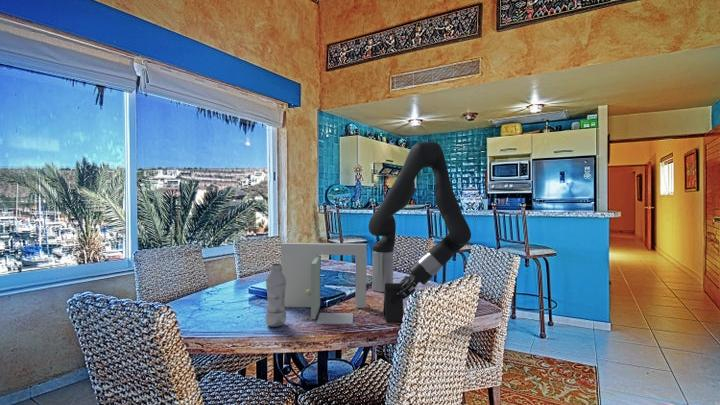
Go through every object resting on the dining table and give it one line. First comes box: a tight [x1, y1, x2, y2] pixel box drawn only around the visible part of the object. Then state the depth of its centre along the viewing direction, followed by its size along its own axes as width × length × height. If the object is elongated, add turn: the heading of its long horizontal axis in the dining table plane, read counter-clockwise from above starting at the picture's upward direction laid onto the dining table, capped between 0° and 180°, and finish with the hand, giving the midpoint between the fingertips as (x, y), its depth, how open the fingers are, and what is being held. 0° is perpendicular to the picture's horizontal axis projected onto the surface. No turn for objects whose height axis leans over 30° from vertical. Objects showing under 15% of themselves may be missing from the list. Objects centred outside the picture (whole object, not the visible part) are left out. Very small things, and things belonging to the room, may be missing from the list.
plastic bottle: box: [264, 263, 287, 328], centre depth 124 cm, size 6×7×20 cm
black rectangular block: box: [382, 282, 404, 323], centre depth 133 cm, size 9×6×12 cm, turn 3°
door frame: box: [280, 242, 368, 325], centre depth 135 cm, size 19×32×24 cm, turn 89°
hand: (390, 301), depth 133 cm, fingers closed on black rectangular block, 3 cm apart
